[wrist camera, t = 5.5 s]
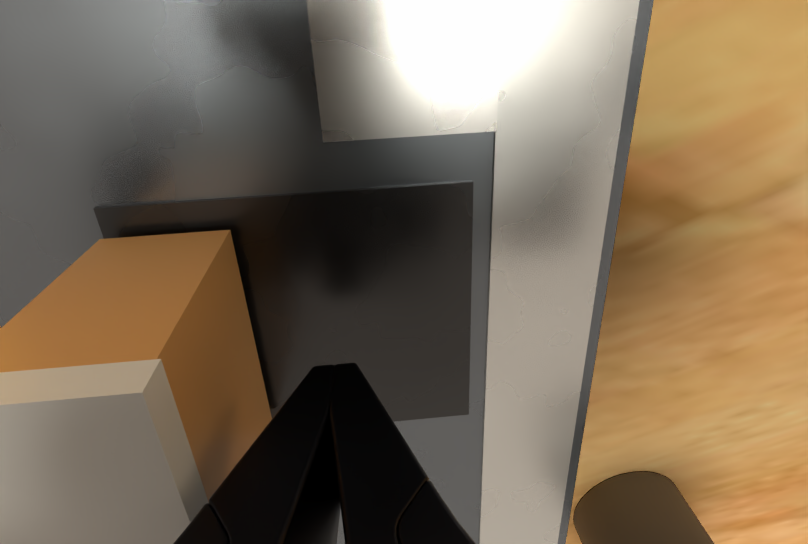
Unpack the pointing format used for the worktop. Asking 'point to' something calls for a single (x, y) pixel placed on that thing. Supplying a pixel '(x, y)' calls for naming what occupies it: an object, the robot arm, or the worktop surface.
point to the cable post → (637, 513)
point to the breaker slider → (127, 393)
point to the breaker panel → (355, 199)
